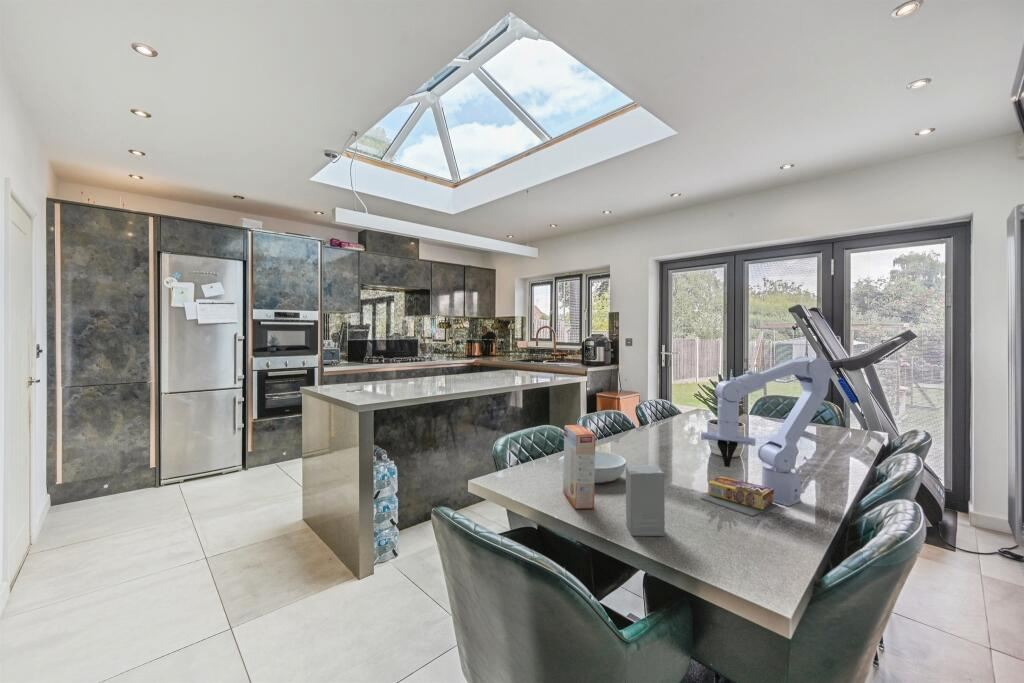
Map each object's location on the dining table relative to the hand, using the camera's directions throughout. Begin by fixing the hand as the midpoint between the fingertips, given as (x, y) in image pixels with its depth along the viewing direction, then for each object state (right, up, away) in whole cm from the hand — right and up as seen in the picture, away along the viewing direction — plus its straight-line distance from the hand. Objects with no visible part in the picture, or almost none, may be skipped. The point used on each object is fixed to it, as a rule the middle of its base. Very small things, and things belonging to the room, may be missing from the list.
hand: (727, 466), depth 130 cm
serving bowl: (-37, -9, +16) cm, 41 cm away
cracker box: (-45, -9, -4) cm, 47 cm away
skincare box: (-32, -9, -24) cm, 41 cm away
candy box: (-2, -7, +4) cm, 8 cm away
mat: (+1, -9, -4) cm, 10 cm away
